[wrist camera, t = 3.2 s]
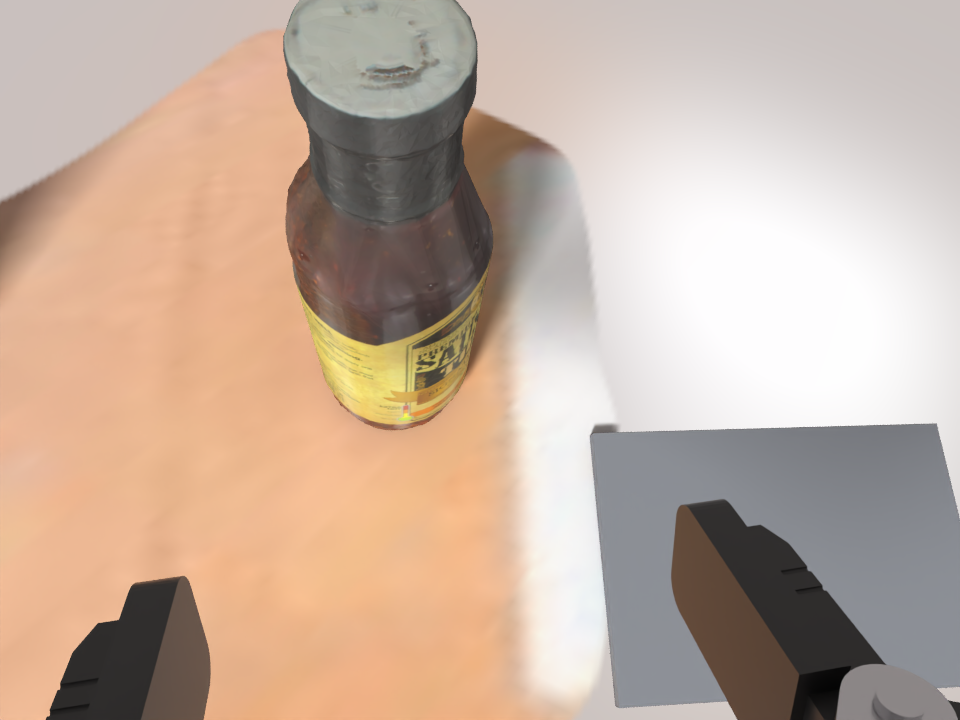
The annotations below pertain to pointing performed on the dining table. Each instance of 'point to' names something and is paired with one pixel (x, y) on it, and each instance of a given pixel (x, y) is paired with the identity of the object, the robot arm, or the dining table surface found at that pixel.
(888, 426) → the gray mat
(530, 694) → the dining table surface
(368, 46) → the sauce bottle
